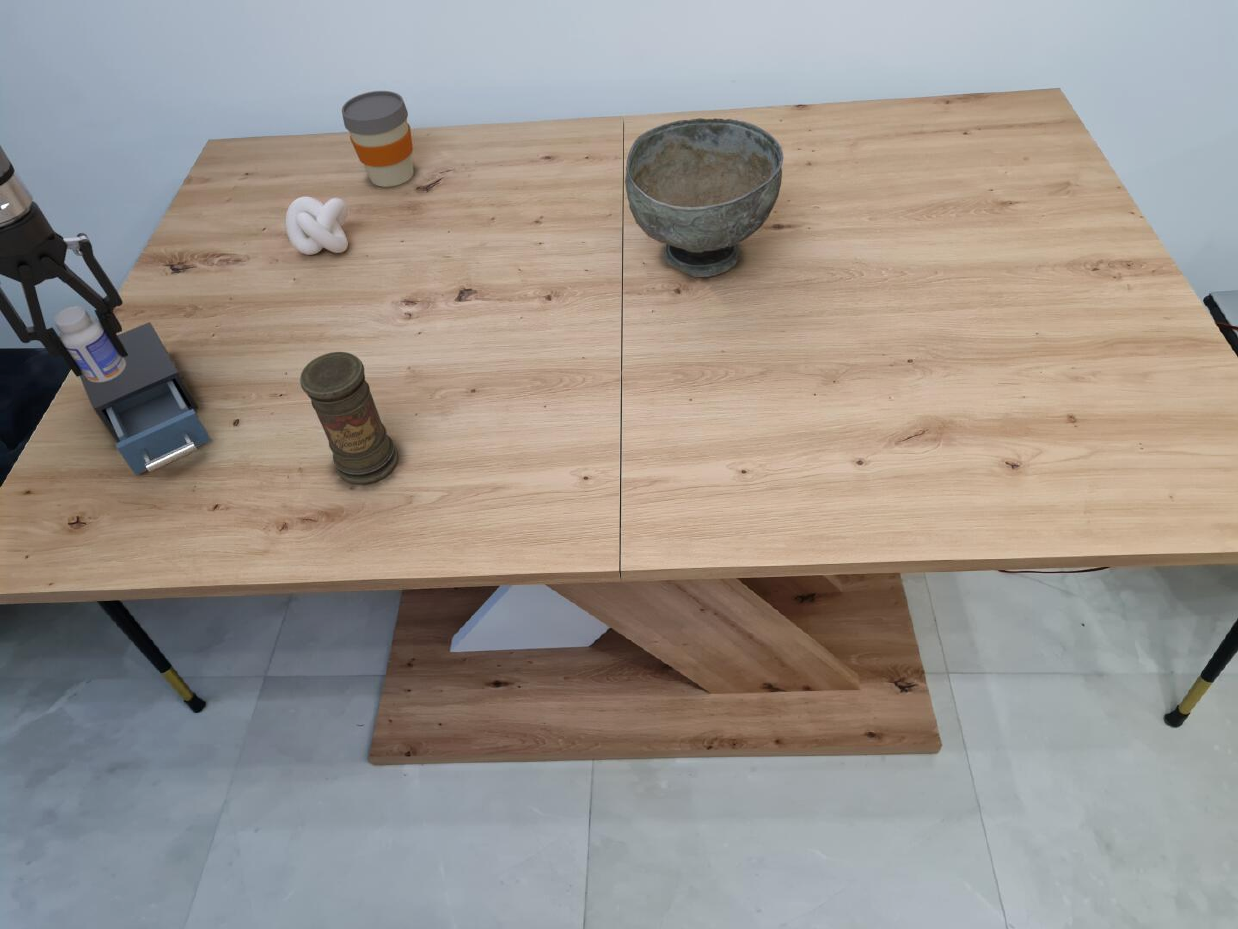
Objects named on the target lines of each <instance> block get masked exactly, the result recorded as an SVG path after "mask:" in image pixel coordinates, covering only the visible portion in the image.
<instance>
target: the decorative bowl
mask: <svg viewBox="0 0 1238 929" xmlns="http://www.w3.org/2000/svg"><path fill="white" fill-rule="evenodd" d="M783 163H784V151H783V149H782V146H781V145H780V143H779V142H778V140H777V139H776V138H775V137H774V136H773V135H771V134H770V133H769V132H767V131H766V130H764V129H763V128H761V127H759V126H757V125H756V124H754V123H751V122H748V121H744V120H738V119H731V118H727V119H725V118H716V117H714V118H702V117H700V118H691V119H680V120H677V121H676V120H675V121H671V122H669V123H665V124H662V125H661V124H660V125H657V126H656V127H654V128H651V129H649V130H647V131H645V132H644V133H642V134H640V135H638V137H637V138H636V139H635V140H634V142H633V143H632V145H631V147H630V150H629V152H628V155H627V159H626V166H625V180H624V185H625V192H626V198H627V202H628V204H629V205H628V207H629V210H630V213H631V214H632V216H633V218H634V221H635V223H636V224H637V225H638V227H639V228H640V229H641V230H642V231H643V232H644V233H645V234H646V236H648V237H649V238H651V239H653V240H654V241H657V242H659V243H661V244H665V245H666V246H665V248H664V261H665V263H666V264H667V265H668V266H670V267H672V268H674V269H675V270H677V271H679V272H681V273H683V274H686V275H688V276H690V277H692V278H709V277H714V276H718V275H720V274H724V273H726V272H727V271H730V270H731V269H732V268H734V267H735V266H736V264H737V263H738V260H739V256H740V252H739V250H740V249H739V246H738V245H737V244H739V243H742V242H743V241H745V240H747V239H748V238H750V237H751V236H752V235H754V233H756V232H757V231H758V230H759V229H760V228H761V227H762V226H763V225H764V223H765V222H766V221H767V220H768V218H769V217H770V214H771V213H772V210H773V209H774V207H775V205H776V202H777V201H778V198H779V194H780V190H781V186H782V179H783V169H782V165H783Z"/></svg>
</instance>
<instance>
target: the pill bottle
mask: <svg viewBox="0 0 1238 929" xmlns="http://www.w3.org/2000/svg"><path fill="white" fill-rule="evenodd" d="M53 322H54V324H55V326H56V327H57V330H58V331H59V332H60V333H59V337H60V341H61V343H62V344H63V346H64V347H65V349H66V350H67V351H68V353H69V354H70V356H71V357H72V359H73V360H74V361H75V363H76V364H77V366H78V367H79V369H80V370H81V371H82V373H83V374H84V376H85V377H86V378H87V379H88V380H90V381H92V382H105V381H109V380H112V379H114V378H115V377H117V376H118V375H119V374H121V373H122V371H123V370H124V369H125V366H126V361H125V359H124V357H122V356H121V354H120V353H119V351H118V349H117V348H116V346H115V345H114V343H113V342H112V340H111V338H110V337H109V335H108V334H107V332H106V331H105V329H104V327H103V326H102V324H101V323H100V321H99V319H98V318H94V317H91V316H90V314H89V312H88V311H87V310H86V309H85V308H84V307H82V306H80V305H75V306H70V307H69V306H68V307H66V308H64V309H62V310H61V311H59V312H58V313H56V314H55V317H54V319H53Z"/></svg>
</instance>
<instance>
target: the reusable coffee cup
mask: <svg viewBox="0 0 1238 929" xmlns="http://www.w3.org/2000/svg"><path fill="white" fill-rule="evenodd" d="M341 114H342V115H341V116H342V119H343V125H344V127H345V129H346V130H347V131H348V133H349V135H350V136H349V140H350V142H351V145H352V146H353V149H354V151H355V153H356V155H357V158H358V160H359V162H360V163H362V164H363V166H364V168H365V171H366V173H367V174H368V177H369V179H370V181H371V182H372V183H373V184H374V185H375V186H378V187H384V188H386V187H387V188H388V187H395V186H399V185H401V184H404V183H407V182H408V181H410V179H412V178H413V175H414V163H413V155H412V153H413V150H414V148H413V139H412V138H413V137H412V131H411V130H412V129H411V126H410V123H409V122H408V117H409V112H408V109H407V107H406V104H405V101H404V99H403V97H402V95H400V94H399V93H397V92H394V91H391V90H390V91H388V90H373V91H368V92H364V93H361V94H358V95H355V96H354V97H352V98H350V99H348V100H347V101H346V102H345V103H344V104H343V105H342V108H341Z"/></svg>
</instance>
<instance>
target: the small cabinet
mask: <svg viewBox="0 0 1238 929" xmlns="http://www.w3.org/2000/svg"><path fill="white" fill-rule="evenodd" d="M117 336H118V338H119V339H120V341H121V342H122V344H123V346H124V348H125V350H126V352H127V354H128V356H126V357H124V359H125V361H126V366H125V369H124V370H123V371H122V373H121V374H119V375H118V376H117V377H115V378H114V379H112V380H109V381H105V382H92V381H90V380H88V379H87V378H86V377H85V376H84V374H83V373H82V375H81V376H79V379H80V381H81V384H82V386H83V388H84V390H85V392H86V395H87V397H88V399H89V402H90V404H91V406H92V408H93V410H94V412H95V414H96V415H97V416H98V417H99V419H100V420H101V422H102V423H103V424H104V427H106V429H107V430H108V432H109V433H110V435H111V436H112V438H113V439H114V440H115V441H116V443H118V442H120V439H119V438H118V436H117V434H116V431H115V429H114V427H113V424H112V422H111V420H110V418H109V415H108V413H107V411H106V409H105V408H108V407H110V406H112V405H115V404H117V403H119V402H121V401H124V400H126V399H128V398H131V397H133V396H135V395H137V394H140V393H142V392H144V391H147V390H149V389H151V388H153V387H156V386H158V385H160V384H163V383H165V382H167V381H169V380H173V382H174V383H175V385H176V387H177V388H178V390H179V392H180V394H181V396H182V397H183V399H184V401H185V403H186V405H187V407H188V409H189V410H191V409H193V410H194V411H195V410H197V409H198V408H199V406H198V404H197V402H196V400H195V399H194V397H193V395H192V393H191V392H190V390H189V388H188V386H187V384H186V382H185V380H184V379H183V377H182V375H181V373H180V372H179V370H178V368H177V367H176V364H175V363H174V361H173V359H172V357H171V356H170V354H169V352H168V351H167V349H166V347H165V345H164V343H163V342H162V340H161V338H160V336H159V335H158V334H157V331H156V330H155V328H154V327H153V325H152V323H151V321H149V322H146V323H143V324H141V325H138V326H136V327H133V328H131V329H129V330H127V331H124V332H121V333H118V334H117ZM81 372H82V371H81Z"/></svg>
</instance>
